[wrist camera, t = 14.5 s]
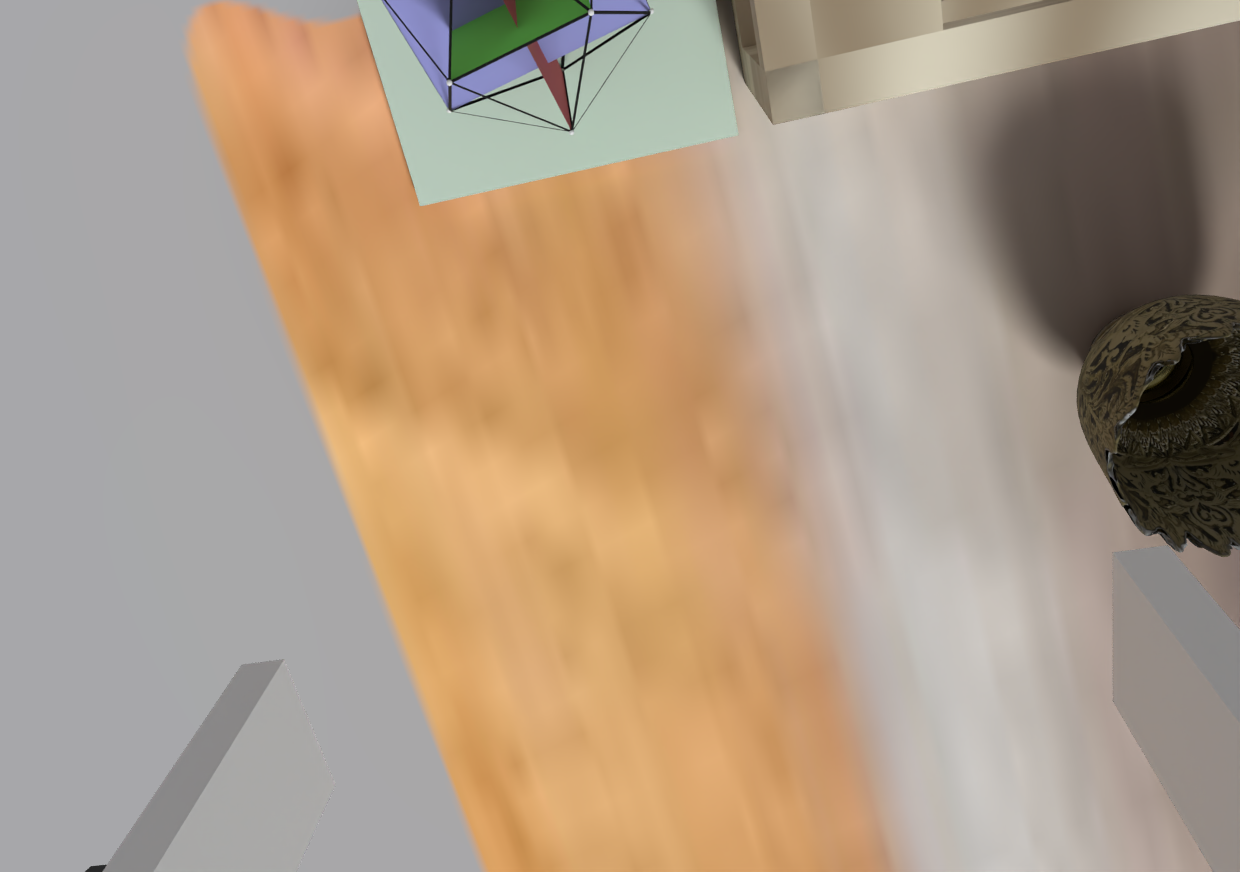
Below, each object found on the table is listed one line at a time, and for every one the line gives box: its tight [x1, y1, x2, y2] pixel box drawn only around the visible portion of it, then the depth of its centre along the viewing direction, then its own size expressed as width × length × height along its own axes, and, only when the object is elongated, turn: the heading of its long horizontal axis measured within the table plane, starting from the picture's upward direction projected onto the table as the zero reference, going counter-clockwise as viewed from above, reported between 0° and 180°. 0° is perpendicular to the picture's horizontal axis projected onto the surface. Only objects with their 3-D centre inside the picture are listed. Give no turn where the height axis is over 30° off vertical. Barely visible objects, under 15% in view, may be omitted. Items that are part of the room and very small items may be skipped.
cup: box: [1077, 295, 1240, 557], centre depth 32 cm, size 8×7×8 cm
